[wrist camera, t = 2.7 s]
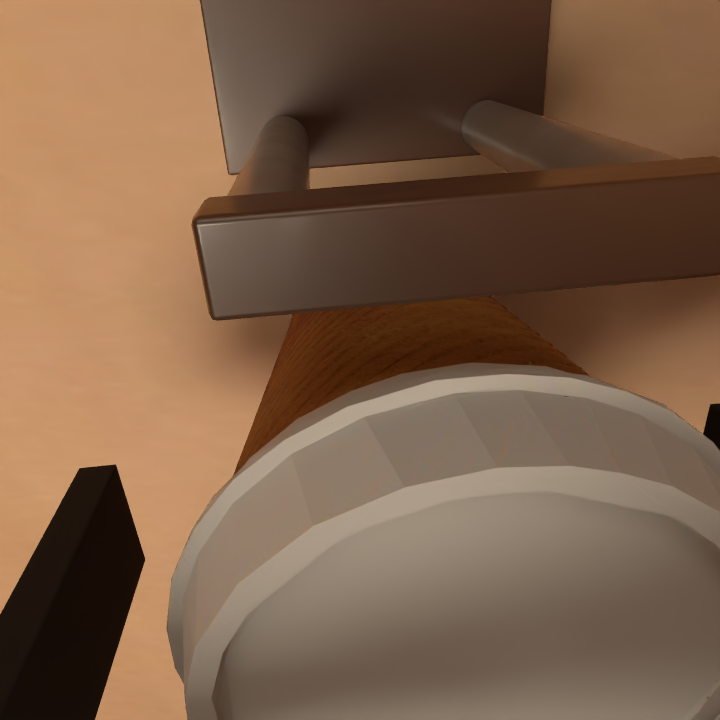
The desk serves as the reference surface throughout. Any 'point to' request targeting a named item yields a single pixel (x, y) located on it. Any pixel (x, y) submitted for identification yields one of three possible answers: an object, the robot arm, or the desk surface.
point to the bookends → (416, 142)
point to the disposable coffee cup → (452, 536)
